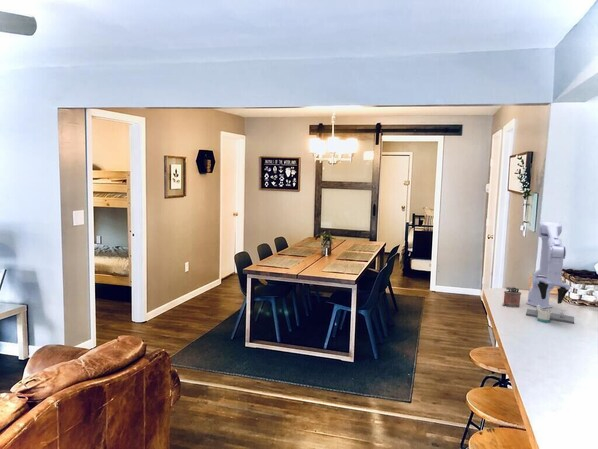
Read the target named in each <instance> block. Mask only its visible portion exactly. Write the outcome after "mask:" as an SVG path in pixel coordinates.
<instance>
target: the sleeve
mask: <svg viewBox="0 0 598 449" xmlns="http://www.w3.org/2000/svg"><path fill="white" fill-rule="evenodd" d="M550 313H551V310H549V309H548V308H541V309H538V316H537V317H536V320H537V321H538V322H540V323H550V321H551V320H550Z"/></svg>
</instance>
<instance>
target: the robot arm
mask: <svg viewBox="0 0 598 449" xmlns="http://www.w3.org/2000/svg"><path fill="white" fill-rule="evenodd" d="M562 230H563V224H562V222H557V221H556V222H555V221H554V222H553V221H543V220H540V221H539V223H538V228H537V236H538V237H539V238H541V250H540V260H539V269H538V270H536V271H534V272H533V273H532V278H531V287H530V288H529V290H528V295H527V301H526V304H527V305H530V306H533V307H536V308H537V305H540V306H541V309H550V308H553V305H550V296H551V295H550V294H551V291H552V290H554V288H555V287H557V289H556V290H557V305H558V304H559V305H560V304H562V303H563V301H564V297H565V296H566V295H567V293H569V290H570V289H571V284H568V283H565V282H563V281H562V274H563V266H564V260H565V259H566V254H567V248H566V246H565V245H563V242H562V239H561V238H560V235H561V234H562V232H563V231H562ZM561 281H562V282H561Z"/></svg>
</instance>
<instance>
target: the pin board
mask: <svg viewBox="0 0 598 449" xmlns="http://www.w3.org/2000/svg"><path fill="white" fill-rule="evenodd" d="M538 309H542V308H541V306H540V305H537V307H536V309H530V308H527V309H526V312H525V316H527V317H533V318H537V316H538ZM565 313H566V310H565V309H564V308H560V312H559V313H554V312H550V320H549V321H554V322H555V321H557V322H561V323H567V324H575V316H571V315H567V314H566V315H565Z"/></svg>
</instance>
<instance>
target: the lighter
mask: <svg viewBox="0 0 598 449" xmlns="http://www.w3.org/2000/svg"><path fill="white" fill-rule="evenodd" d="M505 289H506V290H504V291H503V293H504V294H503V295H504V296H503V303H502V306H503V307H505V306H506V308H507V307H508V308H520V307H521V306H520V302H521V295H522V292H520V288H519V287H514V286H506V287H505Z"/></svg>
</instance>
